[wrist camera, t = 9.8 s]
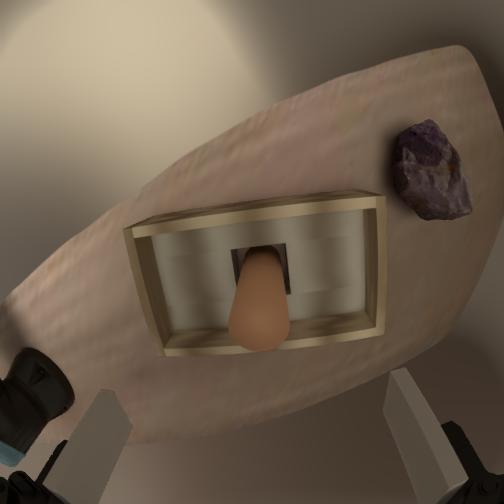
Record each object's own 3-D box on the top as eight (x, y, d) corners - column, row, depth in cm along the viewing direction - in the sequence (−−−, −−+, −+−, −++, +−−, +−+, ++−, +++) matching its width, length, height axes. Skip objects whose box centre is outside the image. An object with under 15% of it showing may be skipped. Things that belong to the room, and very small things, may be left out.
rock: (414, 123, 29) (358, 162, 31) (445, 101, 21) (379, 146, 23) (461, 200, 30) (410, 244, 31) (500, 199, 21) (443, 254, 23)
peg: (246, 279, 34) (233, 353, 20) (241, 245, 33) (223, 301, 19) (282, 275, 34) (292, 348, 20) (278, 241, 33) (287, 295, 19)
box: (177, 321, 36) (158, 356, 29) (153, 216, 33) (122, 229, 25) (362, 302, 34) (384, 334, 27) (358, 189, 31) (385, 195, 23)
